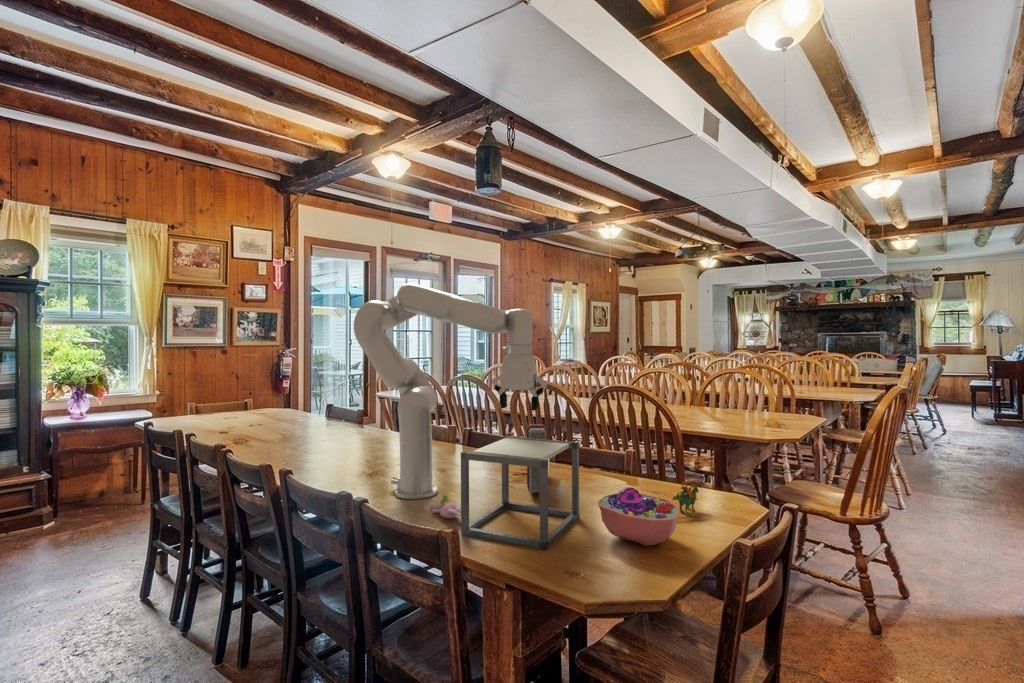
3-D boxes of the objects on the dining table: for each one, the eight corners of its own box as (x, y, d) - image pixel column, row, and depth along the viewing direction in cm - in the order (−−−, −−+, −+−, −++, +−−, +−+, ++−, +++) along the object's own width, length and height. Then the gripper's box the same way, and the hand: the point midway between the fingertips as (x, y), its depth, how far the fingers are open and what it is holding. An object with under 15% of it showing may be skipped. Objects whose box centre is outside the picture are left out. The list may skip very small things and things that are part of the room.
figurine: (703, 509, 142) (703, 479, 142) (676, 519, 134) (676, 487, 134) (693, 506, 144) (693, 476, 144) (666, 515, 137) (666, 484, 137)
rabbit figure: (425, 517, 141) (451, 524, 129) (423, 494, 142) (449, 499, 129) (446, 513, 144) (473, 519, 132) (444, 490, 145) (471, 495, 133)
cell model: (635, 564, 108) (635, 509, 108) (584, 531, 127) (584, 484, 126) (699, 550, 115) (699, 498, 115) (641, 521, 133) (641, 476, 133)
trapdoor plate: (472, 455, 126) (472, 450, 126) (506, 441, 143) (506, 437, 143) (542, 463, 118) (542, 458, 118) (569, 447, 135) (569, 442, 135)
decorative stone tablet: (549, 428, 152) (545, 421, 182) (526, 428, 152) (526, 421, 182) (549, 496, 151) (545, 477, 181) (527, 496, 151) (526, 477, 181)
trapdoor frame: (461, 534, 125) (460, 452, 124) (504, 506, 145) (503, 435, 145) (545, 550, 115) (545, 461, 115) (579, 517, 136) (578, 442, 136)
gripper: (487, 350, 155) (486, 408, 155) (543, 352, 149) (542, 412, 149) (497, 350, 162) (497, 405, 162) (551, 351, 155) (550, 409, 156)
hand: (518, 408), depth 155 cm, fingers open, 9 cm apart
